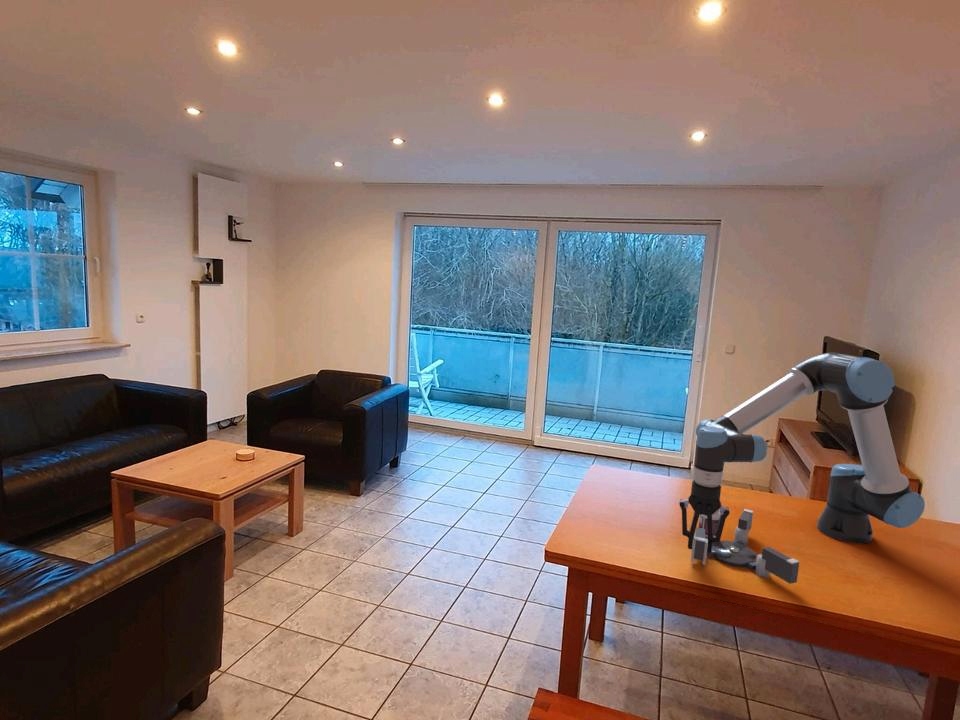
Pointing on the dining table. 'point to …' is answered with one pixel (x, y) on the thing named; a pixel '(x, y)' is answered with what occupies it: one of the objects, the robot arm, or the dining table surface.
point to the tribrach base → (734, 554)
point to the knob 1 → (743, 527)
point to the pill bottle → (714, 523)
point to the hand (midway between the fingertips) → (698, 560)
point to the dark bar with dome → (699, 544)
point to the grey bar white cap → (777, 565)
